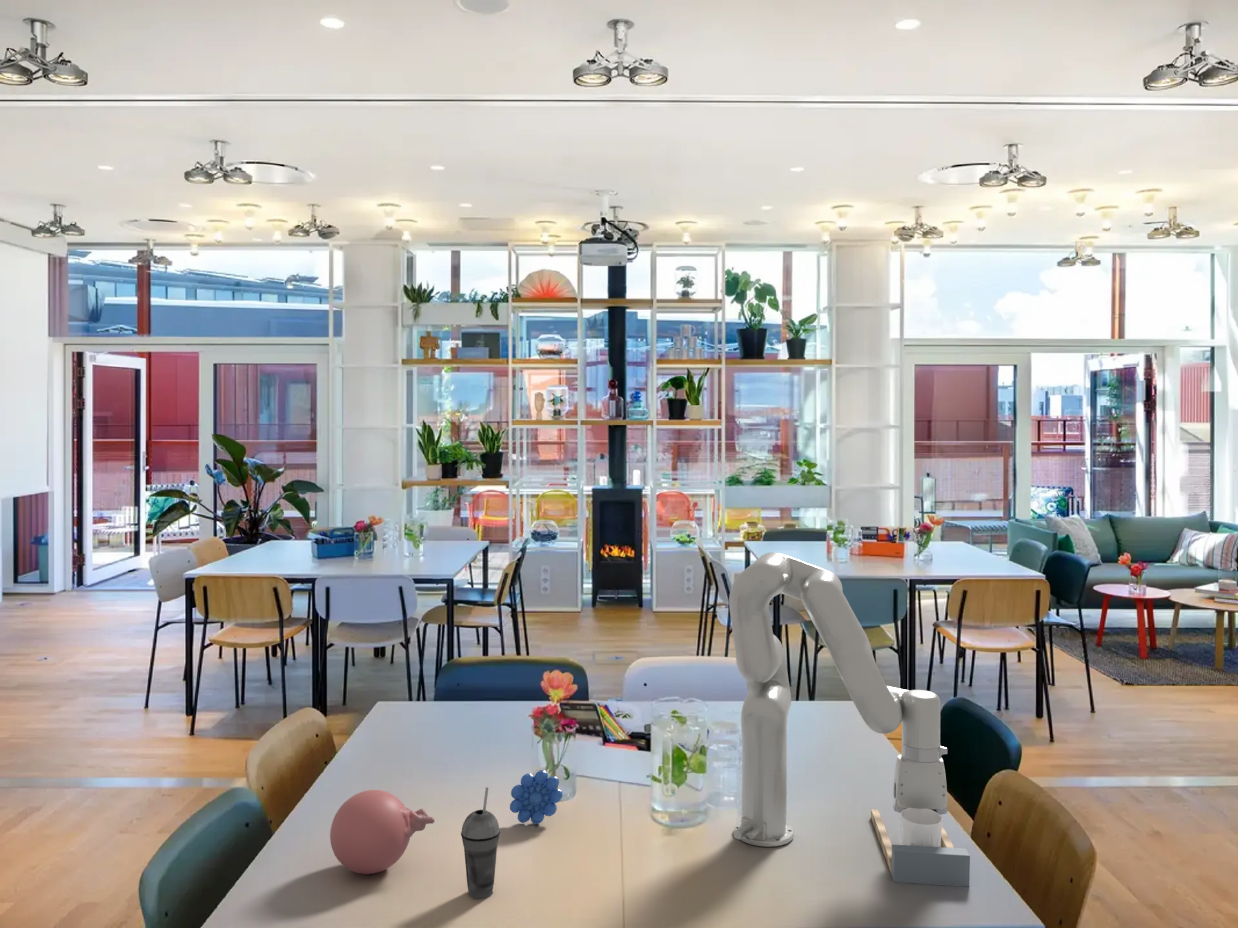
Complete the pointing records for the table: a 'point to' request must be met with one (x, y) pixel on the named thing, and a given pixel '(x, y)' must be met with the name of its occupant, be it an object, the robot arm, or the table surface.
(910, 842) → the white cup
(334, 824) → the balloon
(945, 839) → the guide channel
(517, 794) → the blue flower ornament
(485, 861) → the beverage cup
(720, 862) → the table surface
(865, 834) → the table surface
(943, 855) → the end stop
